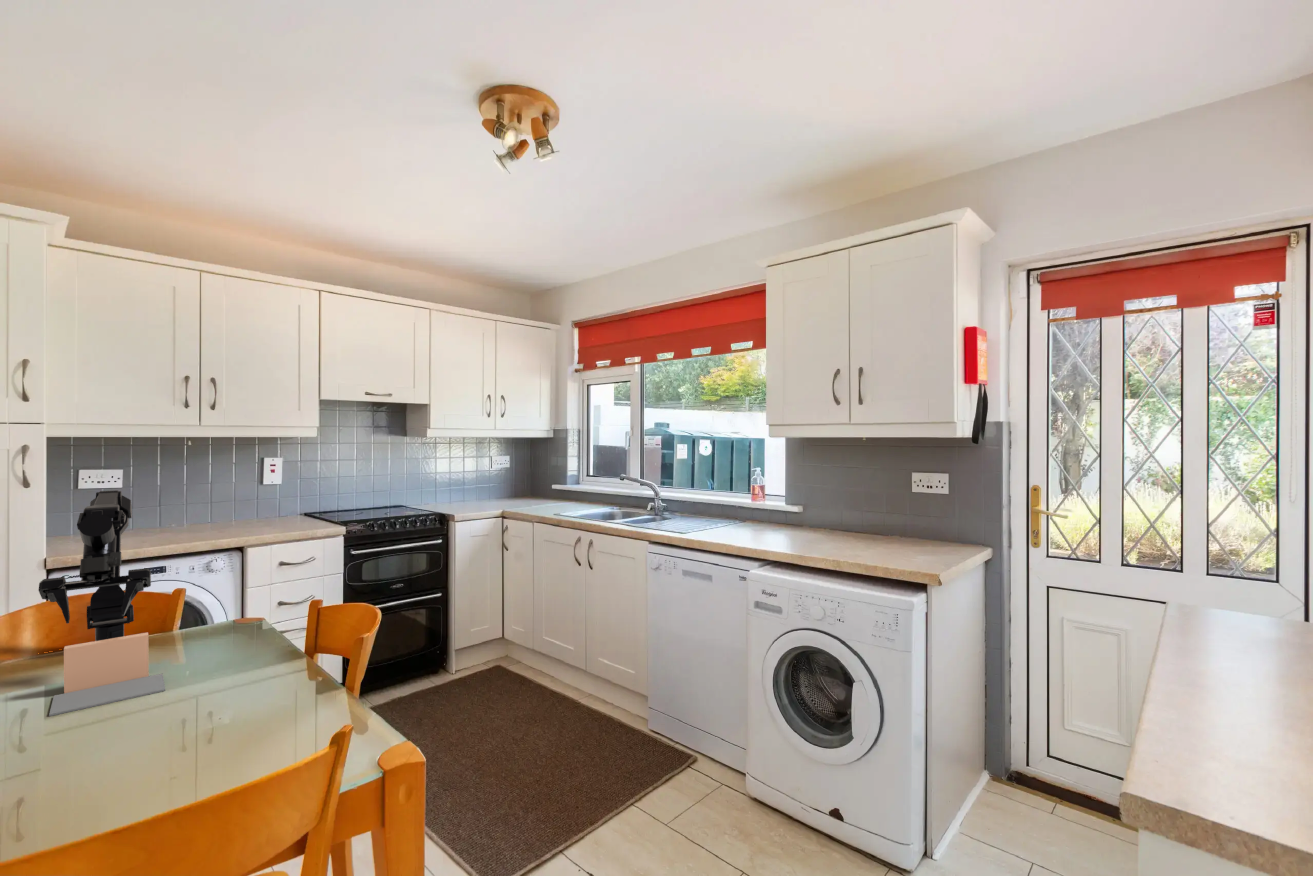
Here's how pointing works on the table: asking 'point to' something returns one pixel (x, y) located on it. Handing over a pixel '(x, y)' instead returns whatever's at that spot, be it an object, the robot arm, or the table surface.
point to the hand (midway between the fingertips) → (95, 619)
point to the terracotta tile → (105, 662)
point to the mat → (106, 694)
